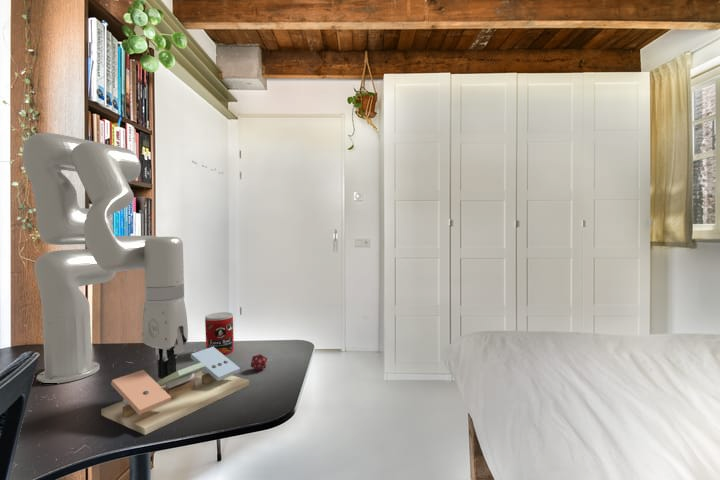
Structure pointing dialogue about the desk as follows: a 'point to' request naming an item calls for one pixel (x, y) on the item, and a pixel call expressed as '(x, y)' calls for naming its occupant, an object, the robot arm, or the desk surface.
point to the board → (176, 402)
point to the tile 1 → (140, 391)
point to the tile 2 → (180, 376)
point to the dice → (258, 362)
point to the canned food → (220, 332)
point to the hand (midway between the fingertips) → (167, 376)
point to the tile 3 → (215, 363)
